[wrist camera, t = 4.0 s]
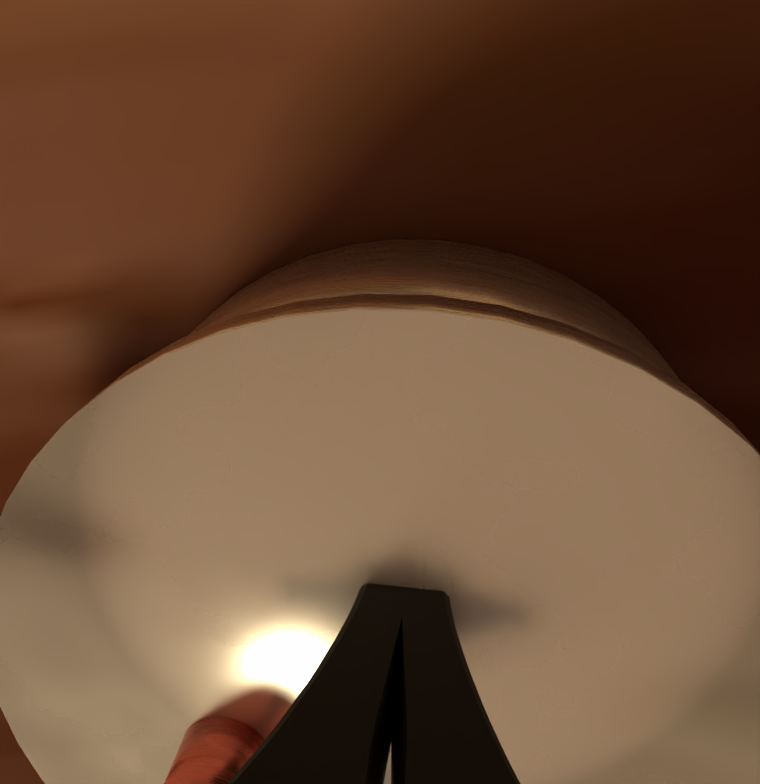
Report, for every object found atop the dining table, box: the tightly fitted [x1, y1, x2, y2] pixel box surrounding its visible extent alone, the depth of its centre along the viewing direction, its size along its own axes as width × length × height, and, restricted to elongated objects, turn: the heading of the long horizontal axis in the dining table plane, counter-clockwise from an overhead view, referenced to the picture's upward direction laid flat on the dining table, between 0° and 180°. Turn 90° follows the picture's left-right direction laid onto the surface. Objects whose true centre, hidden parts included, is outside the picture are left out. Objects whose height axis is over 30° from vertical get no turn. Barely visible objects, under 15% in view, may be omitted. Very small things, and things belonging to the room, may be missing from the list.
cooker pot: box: [187, 239, 680, 380], centre depth 15 cm, size 15×20×5 cm
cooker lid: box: [0, 294, 760, 784], centre depth 12 cm, size 15×15×2 cm
